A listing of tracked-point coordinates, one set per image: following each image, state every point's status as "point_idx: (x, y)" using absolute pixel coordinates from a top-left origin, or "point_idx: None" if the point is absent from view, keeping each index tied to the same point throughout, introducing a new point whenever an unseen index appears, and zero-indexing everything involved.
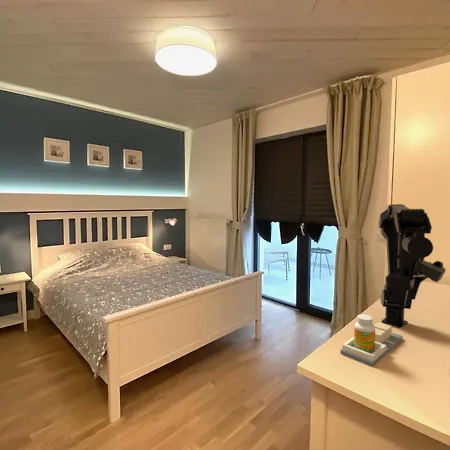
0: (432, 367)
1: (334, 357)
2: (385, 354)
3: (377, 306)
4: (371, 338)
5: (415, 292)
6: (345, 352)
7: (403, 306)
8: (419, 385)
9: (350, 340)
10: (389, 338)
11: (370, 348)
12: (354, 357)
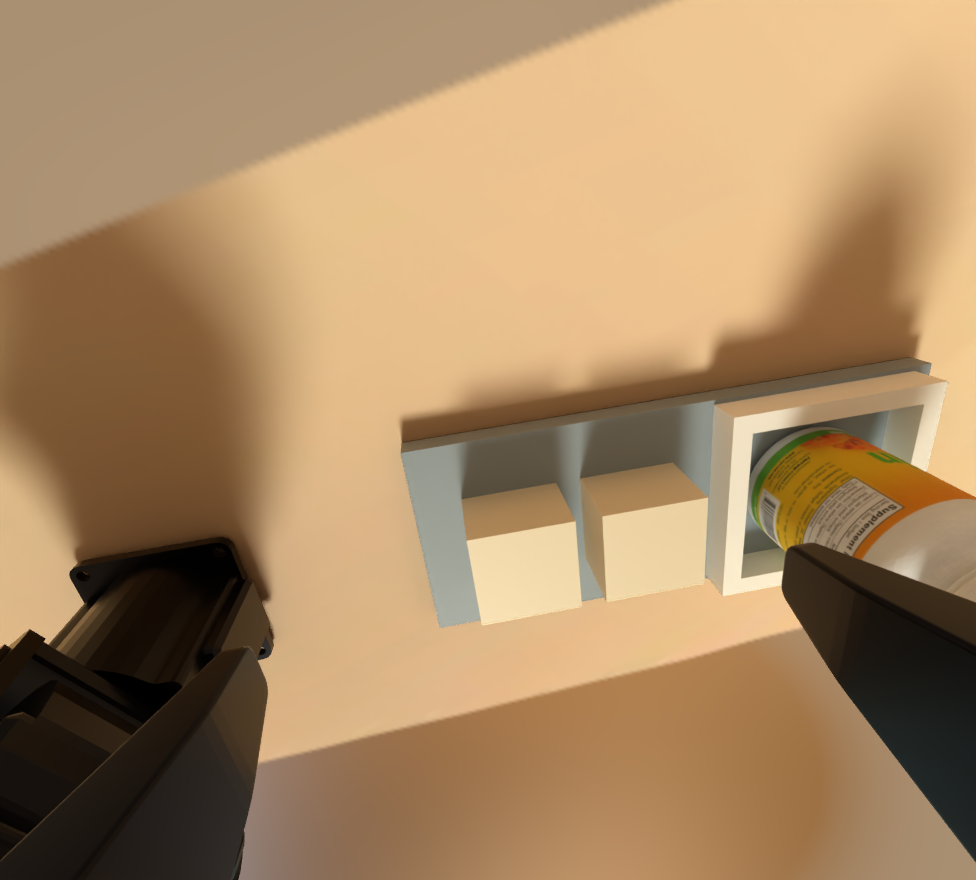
0: (666, 104)
1: None
2: (723, 389)
3: None
4: (930, 475)
5: (173, 780)
6: None
7: (823, 553)
8: (965, 63)
9: None
10: (523, 480)
11: (870, 444)
12: None
